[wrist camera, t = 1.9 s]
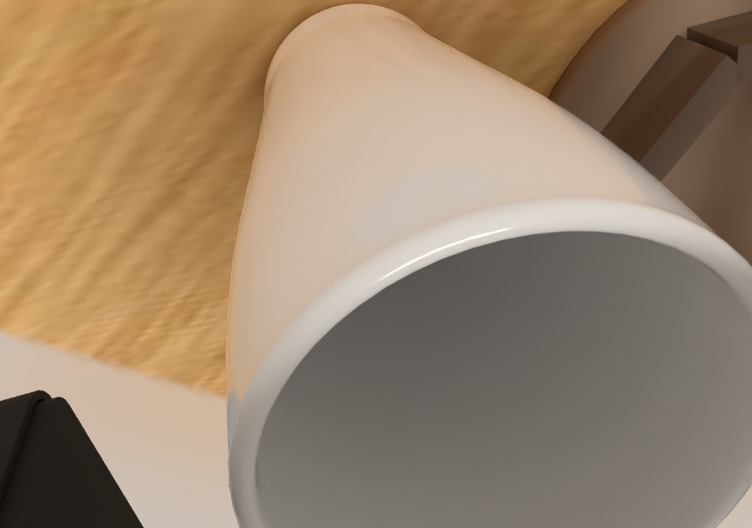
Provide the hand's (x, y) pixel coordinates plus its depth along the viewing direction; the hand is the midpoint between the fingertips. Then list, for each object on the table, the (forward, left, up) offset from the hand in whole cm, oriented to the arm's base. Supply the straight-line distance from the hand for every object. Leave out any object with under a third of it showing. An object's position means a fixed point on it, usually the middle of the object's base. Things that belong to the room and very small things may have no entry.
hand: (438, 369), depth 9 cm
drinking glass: (-1, 0, -14) cm, 14 cm away
